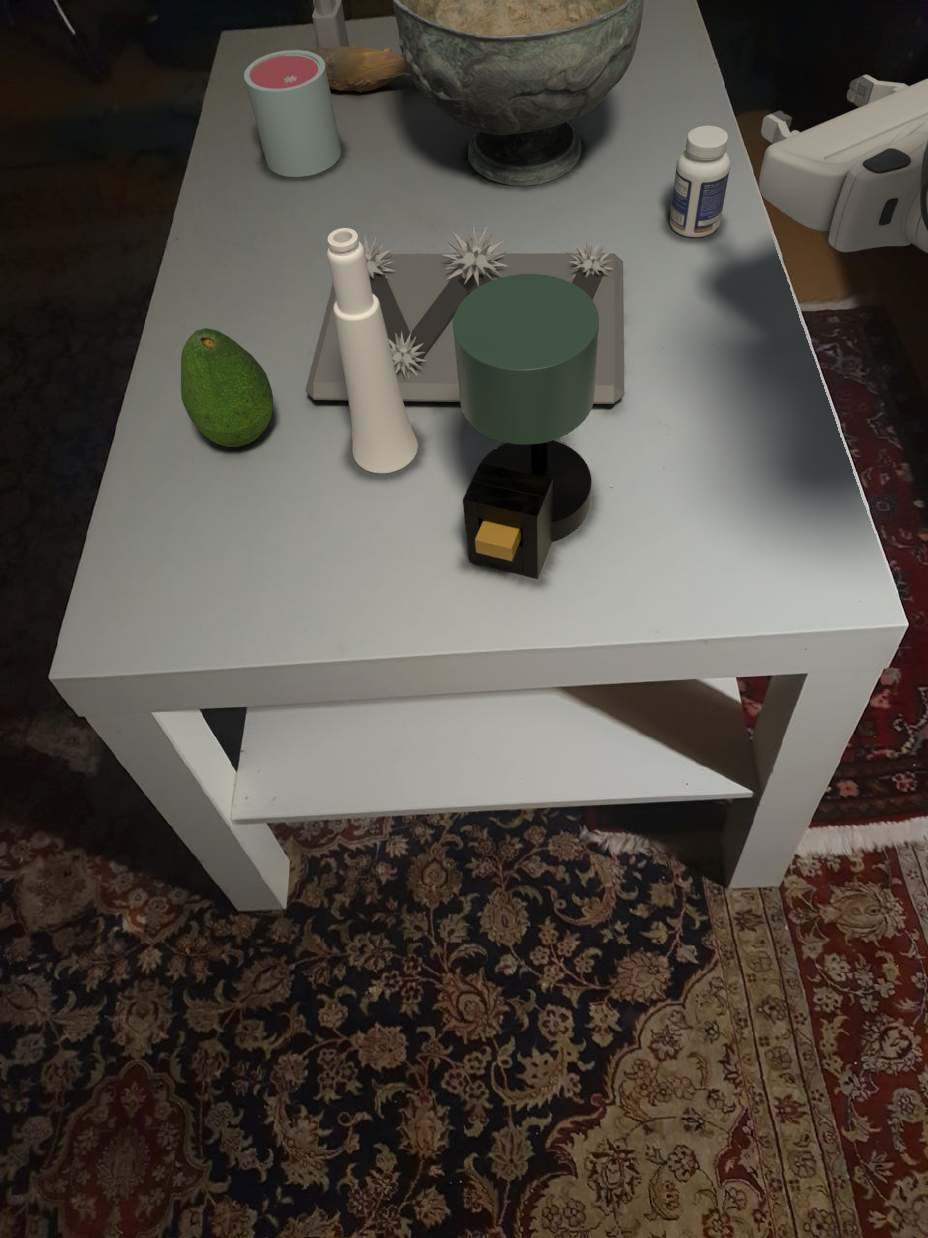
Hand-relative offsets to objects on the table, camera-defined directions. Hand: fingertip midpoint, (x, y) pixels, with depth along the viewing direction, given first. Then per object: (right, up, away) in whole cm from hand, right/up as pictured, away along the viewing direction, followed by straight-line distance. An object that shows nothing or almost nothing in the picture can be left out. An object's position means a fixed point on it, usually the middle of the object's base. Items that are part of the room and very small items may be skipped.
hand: (812, 103), depth 79 cm
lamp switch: (-27, -38, -6) cm, 47 cm away
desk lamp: (-24, -35, +1) cm, 42 cm away
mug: (-49, +14, +35) cm, 62 cm away
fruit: (-51, -27, +9) cm, 58 cm away
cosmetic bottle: (-37, -29, +6) cm, 47 cm away
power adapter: (-47, +30, +45) cm, 72 cm away
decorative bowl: (-23, +11, +31) cm, 40 cm away
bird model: (-42, +25, +41) cm, 64 cm away
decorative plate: (-29, -16, +14) cm, 36 cm away
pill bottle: (-5, -1, +21) cm, 22 cm away
